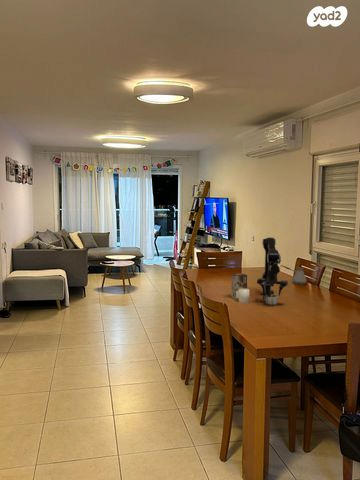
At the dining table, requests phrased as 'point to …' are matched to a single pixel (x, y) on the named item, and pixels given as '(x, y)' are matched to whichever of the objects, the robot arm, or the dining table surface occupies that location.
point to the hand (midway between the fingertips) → (271, 295)
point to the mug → (243, 295)
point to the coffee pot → (298, 276)
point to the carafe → (271, 299)
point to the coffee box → (238, 283)
